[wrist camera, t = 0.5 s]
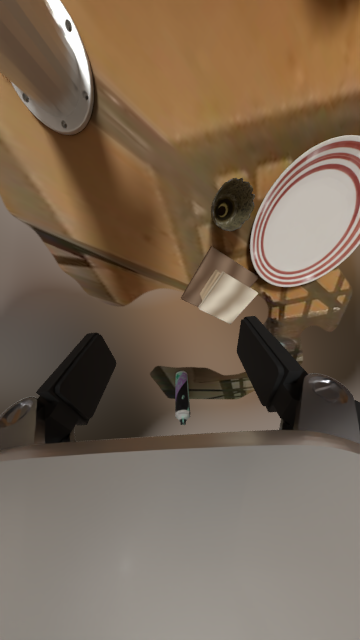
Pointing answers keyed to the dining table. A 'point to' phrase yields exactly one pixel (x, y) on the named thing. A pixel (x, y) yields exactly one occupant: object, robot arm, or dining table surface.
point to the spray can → (182, 397)
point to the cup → (233, 204)
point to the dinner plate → (310, 215)
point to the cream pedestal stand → (220, 286)
